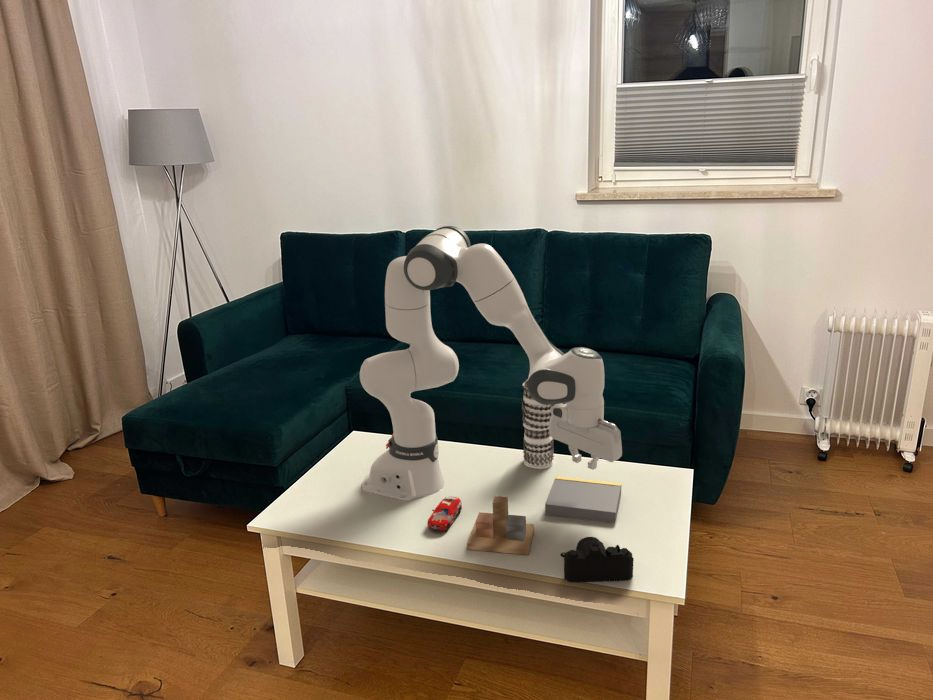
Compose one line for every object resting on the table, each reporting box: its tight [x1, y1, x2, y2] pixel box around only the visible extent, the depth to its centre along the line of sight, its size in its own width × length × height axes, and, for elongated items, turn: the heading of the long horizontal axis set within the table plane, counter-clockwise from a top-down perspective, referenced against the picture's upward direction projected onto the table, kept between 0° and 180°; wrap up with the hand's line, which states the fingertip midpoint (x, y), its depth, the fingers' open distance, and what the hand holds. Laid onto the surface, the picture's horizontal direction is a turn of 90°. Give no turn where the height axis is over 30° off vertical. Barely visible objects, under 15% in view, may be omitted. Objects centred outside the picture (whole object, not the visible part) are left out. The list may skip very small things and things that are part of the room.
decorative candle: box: [520, 378, 555, 470], centre depth 199 cm, size 9×9×25 cm
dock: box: [544, 475, 622, 524], centre depth 181 cm, size 17×14×3 cm
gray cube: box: [506, 514, 527, 541], centre depth 165 cm, size 4×4×4 cm
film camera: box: [559, 536, 634, 583], centre depth 154 cm, size 15×10×9 cm, turn 89°
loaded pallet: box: [466, 495, 535, 556], centre depth 166 cm, size 14×10×12 cm
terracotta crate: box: [475, 511, 494, 538], centre depth 167 cm, size 4×4×4 cm
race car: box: [426, 496, 463, 532], centre depth 176 cm, size 13×5×4 cm, turn 159°
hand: (584, 464), depth 178 cm, fingers open, 3 cm apart
